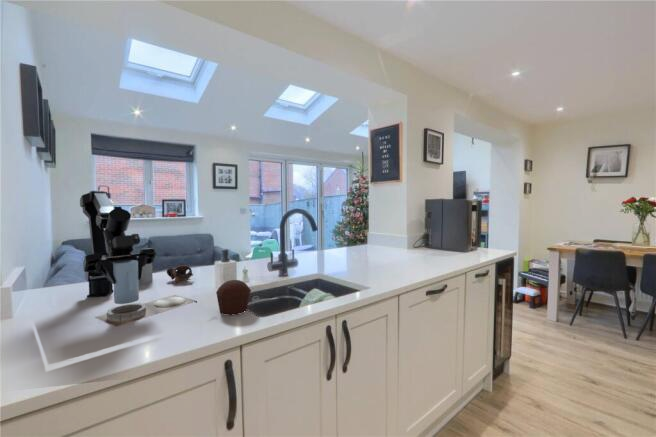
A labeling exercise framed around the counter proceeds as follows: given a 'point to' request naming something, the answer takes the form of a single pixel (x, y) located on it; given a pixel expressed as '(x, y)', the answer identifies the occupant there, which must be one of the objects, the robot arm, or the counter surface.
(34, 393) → the counter surface
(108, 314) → the tan flat slab
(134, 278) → the pale blue cylinder
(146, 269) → the tall grey pillar block
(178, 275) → the pottery mug
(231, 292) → the muffin
